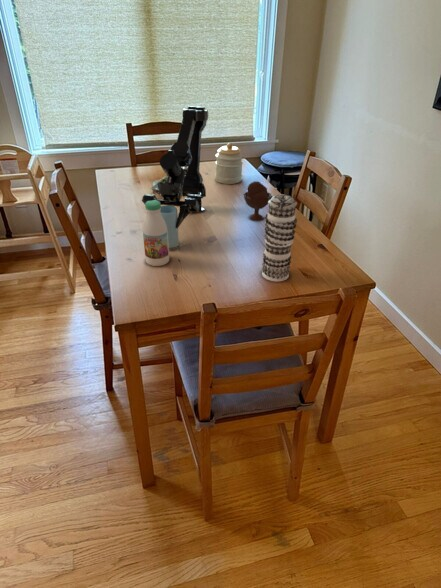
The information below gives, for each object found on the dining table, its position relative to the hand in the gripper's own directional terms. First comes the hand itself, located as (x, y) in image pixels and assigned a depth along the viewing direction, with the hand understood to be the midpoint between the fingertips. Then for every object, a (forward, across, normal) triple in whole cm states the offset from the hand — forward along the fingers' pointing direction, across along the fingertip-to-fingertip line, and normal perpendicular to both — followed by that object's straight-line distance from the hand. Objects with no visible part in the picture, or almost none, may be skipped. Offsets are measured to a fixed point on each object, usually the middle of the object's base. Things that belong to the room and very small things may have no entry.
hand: (166, 226), depth 136 cm
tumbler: (+4, 0, +6) cm, 7 cm away
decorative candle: (+12, +38, -1) cm, 40 cm away
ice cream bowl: (-17, +26, +29) cm, 43 cm away
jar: (-47, +6, +59) cm, 76 cm away
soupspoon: (-48, -14, +61) cm, 79 cm away
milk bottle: (+12, 0, -1) cm, 12 cm away
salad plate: (-34, -18, +46) cm, 60 cm away
